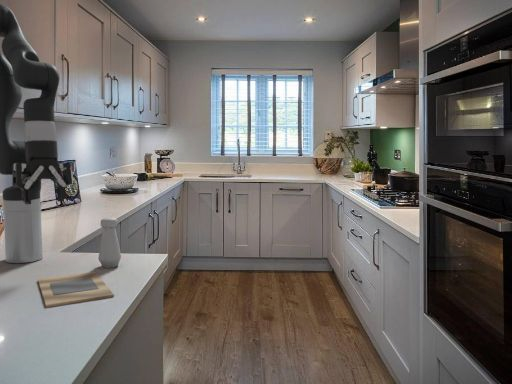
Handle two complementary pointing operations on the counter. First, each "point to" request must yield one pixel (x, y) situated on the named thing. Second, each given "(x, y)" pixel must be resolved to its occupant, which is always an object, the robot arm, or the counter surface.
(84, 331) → the counter surface
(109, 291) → the wooden board
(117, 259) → the salt shaker
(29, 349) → the counter surface
